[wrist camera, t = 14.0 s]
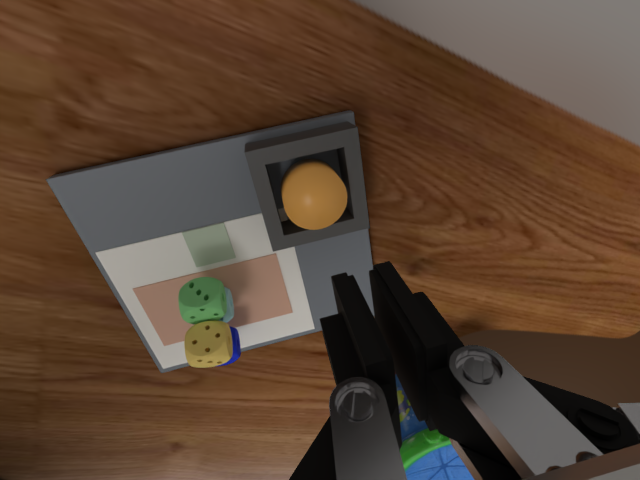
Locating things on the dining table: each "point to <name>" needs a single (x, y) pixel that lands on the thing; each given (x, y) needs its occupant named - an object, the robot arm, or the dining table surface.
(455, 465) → the snack cup
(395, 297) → the robot arm
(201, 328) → the dice
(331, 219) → the button
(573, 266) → the dining table surface
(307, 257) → the colouring board
